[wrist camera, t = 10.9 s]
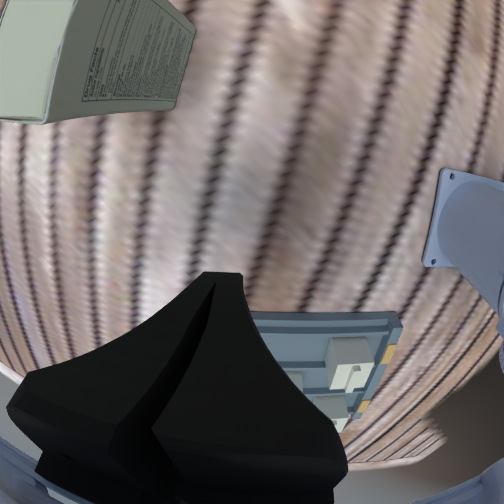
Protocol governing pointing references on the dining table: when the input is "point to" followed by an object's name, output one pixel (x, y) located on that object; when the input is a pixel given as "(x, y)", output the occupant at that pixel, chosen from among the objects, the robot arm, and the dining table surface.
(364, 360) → the tab
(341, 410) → the tab
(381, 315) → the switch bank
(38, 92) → the skincare box
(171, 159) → the dining table surface
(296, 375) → the tab
